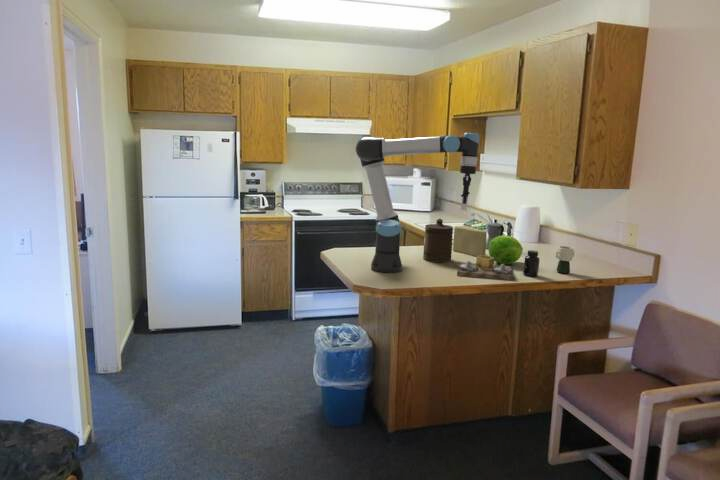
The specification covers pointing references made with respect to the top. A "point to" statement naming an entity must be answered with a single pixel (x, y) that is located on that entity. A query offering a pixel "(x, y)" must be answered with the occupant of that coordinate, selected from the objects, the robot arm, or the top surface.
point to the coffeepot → (494, 231)
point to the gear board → (485, 271)
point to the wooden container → (438, 242)
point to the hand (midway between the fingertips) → (463, 208)
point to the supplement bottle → (531, 264)
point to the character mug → (564, 258)
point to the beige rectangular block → (469, 240)
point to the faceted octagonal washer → (484, 262)
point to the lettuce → (505, 249)
